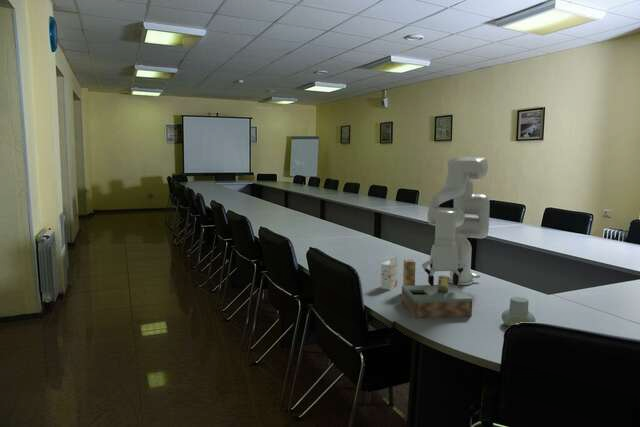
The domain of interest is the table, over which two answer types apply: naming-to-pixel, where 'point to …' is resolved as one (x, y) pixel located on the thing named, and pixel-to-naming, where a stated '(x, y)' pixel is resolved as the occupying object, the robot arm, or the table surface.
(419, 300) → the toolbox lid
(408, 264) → the key peg
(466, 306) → the toolbox
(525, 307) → the air freshener
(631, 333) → the table surface
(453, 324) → the table surface
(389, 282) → the ink cartridge box
